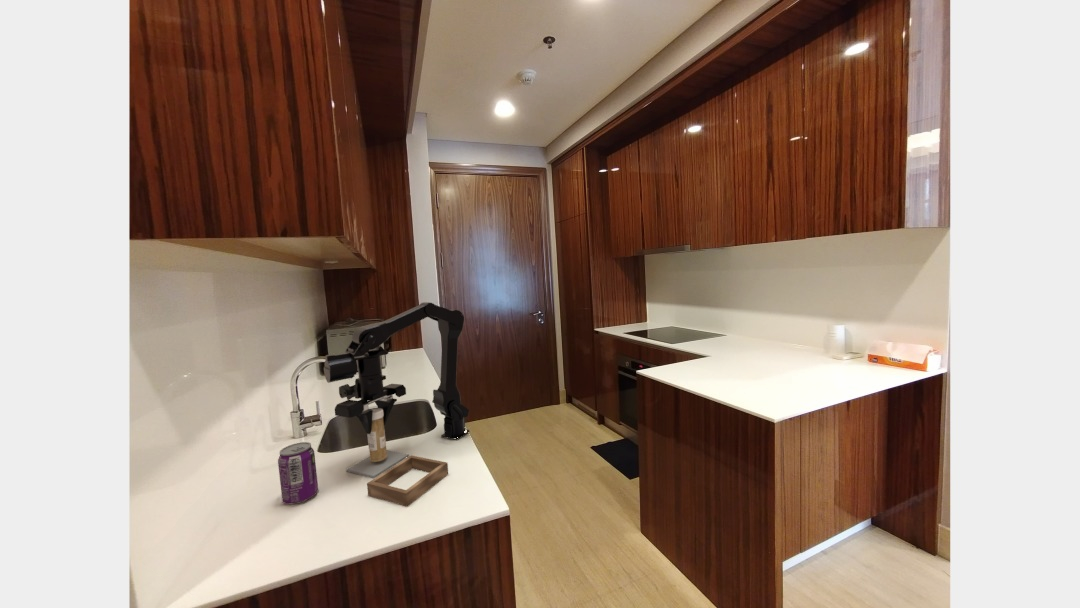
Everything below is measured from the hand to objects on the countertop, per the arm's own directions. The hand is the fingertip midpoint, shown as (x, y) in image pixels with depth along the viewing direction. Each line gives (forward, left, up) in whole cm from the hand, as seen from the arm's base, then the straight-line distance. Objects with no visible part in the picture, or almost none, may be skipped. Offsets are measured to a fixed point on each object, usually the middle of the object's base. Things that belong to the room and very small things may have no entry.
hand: (375, 430), depth 100 cm
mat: (0, 0, -9) cm, 9 cm away
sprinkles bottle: (0, 0, -8) cm, 8 cm away
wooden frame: (+5, +16, -9) cm, 19 cm away
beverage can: (+18, -5, -10) cm, 21 cm away
